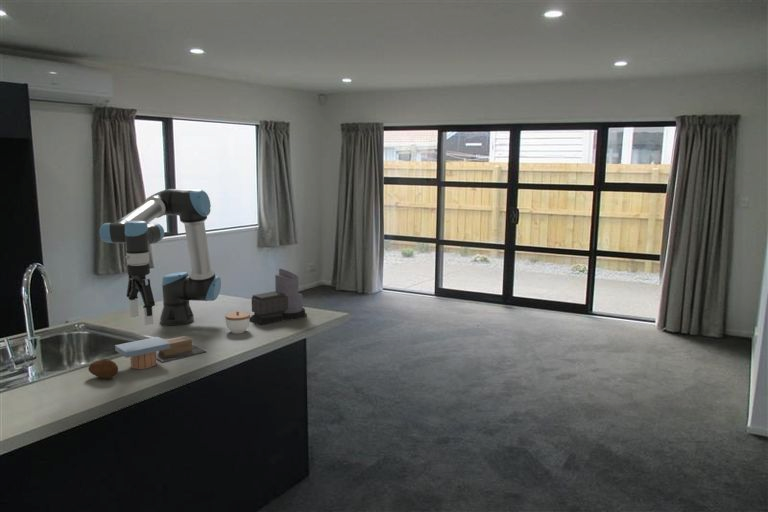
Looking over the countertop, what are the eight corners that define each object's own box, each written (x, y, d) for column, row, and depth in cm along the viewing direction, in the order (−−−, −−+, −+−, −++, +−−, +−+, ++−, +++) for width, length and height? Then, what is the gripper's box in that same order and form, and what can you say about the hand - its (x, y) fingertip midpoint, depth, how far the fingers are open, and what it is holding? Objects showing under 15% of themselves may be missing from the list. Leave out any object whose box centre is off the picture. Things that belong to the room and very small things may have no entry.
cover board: (115, 350, 210) (114, 345, 210) (158, 341, 221) (157, 336, 221) (126, 357, 202) (126, 352, 202) (170, 348, 213) (170, 343, 213)
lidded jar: (243, 335, 250) (243, 315, 249) (221, 334, 252) (220, 313, 251) (254, 329, 260) (253, 309, 259) (232, 327, 262) (232, 307, 261)
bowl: (127, 364, 213) (126, 349, 212) (150, 359, 219) (149, 344, 218) (136, 370, 207) (135, 354, 206) (159, 365, 213) (159, 349, 212)
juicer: (294, 309, 297) (293, 263, 293) (313, 315, 286) (313, 267, 282) (244, 319, 276) (243, 270, 272) (263, 326, 265) (262, 275, 261)
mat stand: (145, 352, 227) (144, 340, 226) (188, 342, 239) (187, 331, 238) (161, 362, 215) (161, 349, 215) (206, 352, 228) (205, 340, 227)
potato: (97, 372, 204) (96, 354, 203) (125, 375, 201) (124, 357, 200) (84, 379, 197) (82, 360, 196) (112, 383, 195) (111, 363, 194)
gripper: (115, 260, 213) (118, 315, 216) (141, 270, 195) (144, 329, 199) (135, 258, 218) (138, 311, 221) (162, 267, 200) (165, 325, 204)
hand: (141, 320), depth 210 cm, fingers open, 13 cm apart
